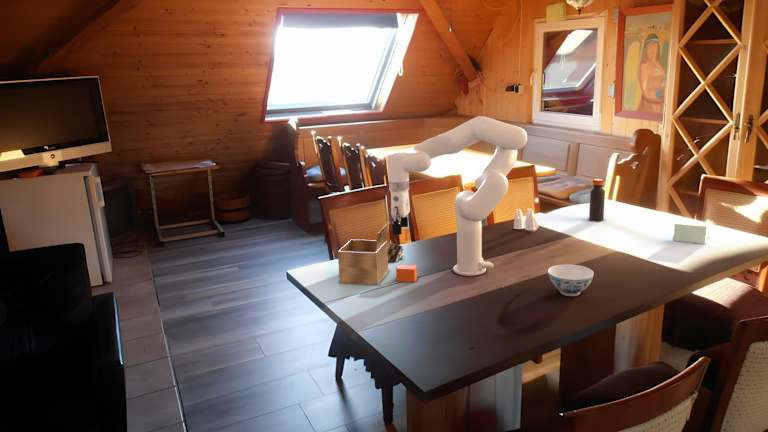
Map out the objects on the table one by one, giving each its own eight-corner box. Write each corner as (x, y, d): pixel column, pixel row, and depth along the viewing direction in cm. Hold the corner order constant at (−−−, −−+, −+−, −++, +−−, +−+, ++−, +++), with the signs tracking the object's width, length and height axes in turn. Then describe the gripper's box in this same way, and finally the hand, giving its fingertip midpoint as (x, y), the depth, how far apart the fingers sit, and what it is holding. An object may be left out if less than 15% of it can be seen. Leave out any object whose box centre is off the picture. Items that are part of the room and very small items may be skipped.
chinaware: (586, 304, 197) (587, 282, 195) (541, 296, 204) (542, 275, 203) (597, 288, 209) (598, 267, 207) (554, 282, 217) (555, 262, 215)
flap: (386, 239, 233) (387, 239, 233) (375, 251, 219) (376, 251, 219) (389, 221, 231) (389, 221, 231) (378, 232, 217) (378, 232, 216)
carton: (388, 270, 236) (387, 240, 233) (377, 285, 222) (376, 253, 219) (352, 269, 240) (350, 239, 237) (339, 282, 226) (337, 251, 223)
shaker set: (539, 231, 279) (539, 208, 276) (533, 233, 276) (534, 210, 274) (518, 227, 288) (518, 204, 285) (512, 228, 285) (513, 206, 283)
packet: (417, 277, 227) (416, 265, 226) (414, 282, 223) (414, 269, 222) (399, 276, 229) (398, 264, 228) (396, 281, 225) (396, 268, 224)
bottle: (590, 221, 292) (591, 181, 287) (587, 217, 299) (589, 178, 294) (604, 221, 291) (606, 181, 286) (602, 217, 297) (604, 178, 292)
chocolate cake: (398, 265, 244) (407, 239, 249) (382, 260, 244) (391, 234, 250) (397, 273, 252) (406, 249, 257) (381, 268, 253) (390, 244, 258)
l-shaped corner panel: (707, 236, 261) (709, 219, 259) (704, 244, 251) (706, 226, 249) (677, 233, 267) (678, 217, 265) (673, 240, 257) (674, 223, 255)
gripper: (402, 191, 210) (404, 237, 214) (414, 181, 226) (415, 224, 230) (382, 190, 212) (384, 236, 216) (395, 180, 228) (397, 224, 232)
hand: (400, 230), depth 223 cm, fingers open, 9 cm apart
